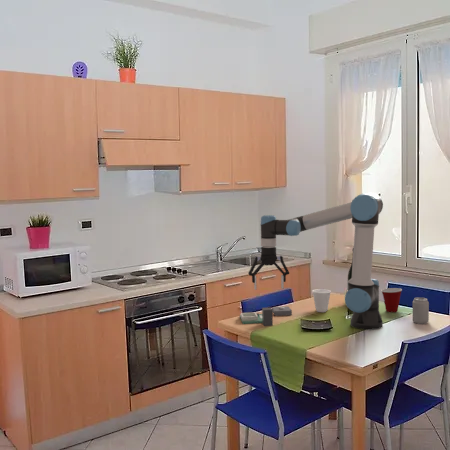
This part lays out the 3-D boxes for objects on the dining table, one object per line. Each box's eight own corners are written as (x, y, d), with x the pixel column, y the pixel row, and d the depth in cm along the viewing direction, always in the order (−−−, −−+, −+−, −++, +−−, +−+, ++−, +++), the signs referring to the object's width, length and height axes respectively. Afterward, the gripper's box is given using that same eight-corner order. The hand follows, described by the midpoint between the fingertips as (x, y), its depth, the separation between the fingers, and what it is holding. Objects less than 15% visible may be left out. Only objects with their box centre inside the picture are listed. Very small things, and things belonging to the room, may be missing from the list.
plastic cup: (385, 307, 297) (385, 286, 296) (405, 310, 290) (405, 288, 289) (377, 311, 288) (377, 289, 287) (397, 314, 281) (397, 292, 280)
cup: (330, 313, 287) (330, 293, 286) (311, 313, 289) (311, 292, 288) (331, 309, 297) (330, 289, 296) (312, 308, 299) (312, 288, 298)
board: (266, 322, 273) (266, 316, 272) (242, 323, 272) (242, 318, 271) (262, 315, 287) (262, 310, 286) (239, 316, 286) (239, 311, 285)
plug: (272, 325, 268) (272, 309, 267) (263, 325, 267) (263, 310, 267) (270, 322, 273) (270, 307, 272) (262, 323, 272) (262, 307, 271)
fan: (291, 315, 286) (291, 309, 286) (274, 315, 286) (274, 310, 285) (288, 310, 295) (288, 305, 295) (272, 311, 294) (272, 306, 294)
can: (429, 321, 268) (429, 297, 267) (427, 325, 261) (428, 300, 260) (413, 319, 271) (413, 296, 270) (411, 323, 265) (411, 299, 263)
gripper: (292, 244, 273) (292, 286, 275) (242, 246, 271) (243, 287, 273) (294, 246, 265) (295, 289, 267) (244, 248, 264) (244, 291, 266)
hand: (268, 288), depth 270 cm, fingers open, 13 cm apart
